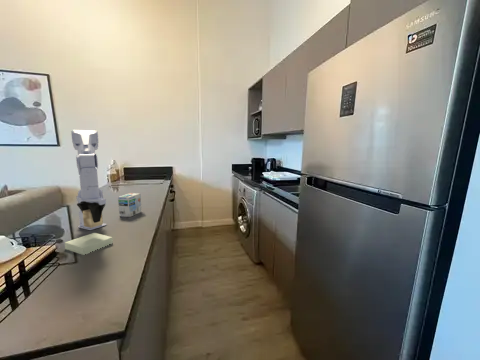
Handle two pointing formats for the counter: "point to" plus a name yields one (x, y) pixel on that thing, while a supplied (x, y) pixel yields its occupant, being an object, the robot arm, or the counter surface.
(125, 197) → the light bulb box
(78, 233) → the counter surface
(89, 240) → the sage box
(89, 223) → the birch block
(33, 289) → the counter surface
